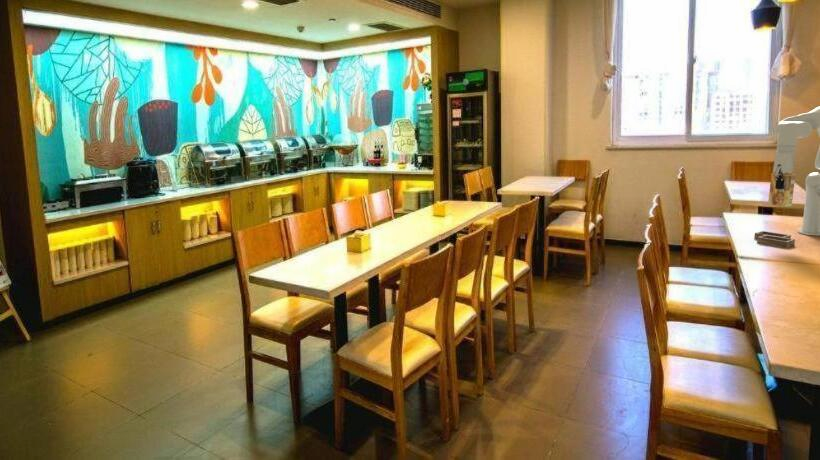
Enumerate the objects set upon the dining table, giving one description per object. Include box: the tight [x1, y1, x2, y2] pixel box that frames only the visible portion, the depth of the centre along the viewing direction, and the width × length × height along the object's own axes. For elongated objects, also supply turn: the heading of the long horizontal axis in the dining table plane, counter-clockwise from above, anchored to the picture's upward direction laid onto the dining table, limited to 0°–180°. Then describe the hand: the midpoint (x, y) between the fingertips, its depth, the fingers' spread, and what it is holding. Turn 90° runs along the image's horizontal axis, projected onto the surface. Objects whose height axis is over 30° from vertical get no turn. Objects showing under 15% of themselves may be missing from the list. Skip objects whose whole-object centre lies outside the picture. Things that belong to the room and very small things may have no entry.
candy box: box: [767, 172, 796, 208], centre depth 261 cm, size 9×4×15 cm, turn 33°
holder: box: [754, 230, 796, 249], centre depth 270 cm, size 16×18×3 cm
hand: (781, 188), depth 261 cm, fingers closed on candy box, 4 cm apart
